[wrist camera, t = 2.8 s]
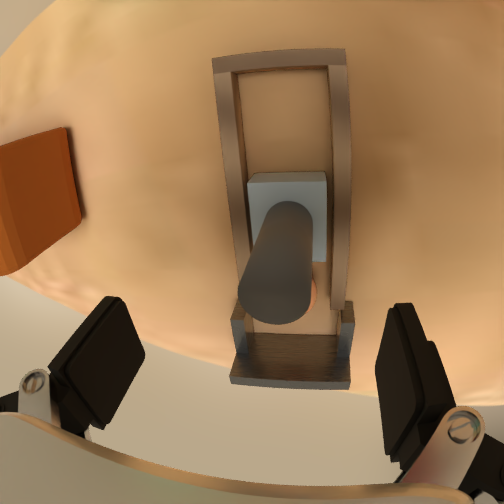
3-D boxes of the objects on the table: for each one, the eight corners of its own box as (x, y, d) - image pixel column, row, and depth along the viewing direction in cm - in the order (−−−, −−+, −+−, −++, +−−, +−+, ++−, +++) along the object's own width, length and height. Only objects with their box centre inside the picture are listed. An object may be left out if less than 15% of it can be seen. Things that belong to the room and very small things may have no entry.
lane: (219, 61, 16) (211, 58, 14) (342, 53, 14) (344, 48, 13) (247, 294, 24) (242, 307, 22) (342, 296, 22) (343, 309, 21)
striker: (254, 173, 19) (207, 236, 11) (324, 171, 18) (335, 236, 10) (261, 243, 21) (227, 340, 13) (324, 244, 20) (328, 344, 12)
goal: (237, 299, 24) (221, 343, 20) (352, 301, 22) (357, 348, 18) (244, 340, 26) (231, 383, 22) (346, 343, 24) (348, 389, 20)
